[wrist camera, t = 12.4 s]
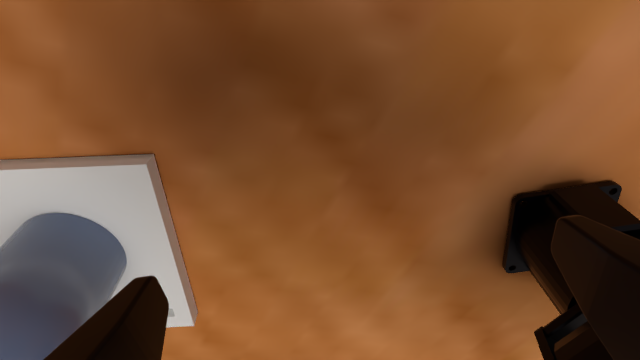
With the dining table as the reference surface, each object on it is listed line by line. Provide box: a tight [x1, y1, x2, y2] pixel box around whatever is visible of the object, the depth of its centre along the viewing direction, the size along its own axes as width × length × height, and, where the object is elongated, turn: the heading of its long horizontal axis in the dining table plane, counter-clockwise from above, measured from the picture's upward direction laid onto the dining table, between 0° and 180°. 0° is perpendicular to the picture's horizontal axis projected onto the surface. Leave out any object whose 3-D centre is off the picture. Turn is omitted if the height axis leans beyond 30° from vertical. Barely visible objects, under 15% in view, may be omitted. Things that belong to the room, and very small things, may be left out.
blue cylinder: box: [0, 213, 127, 360], centre depth 18 cm, size 6×6×13 cm
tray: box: [0, 154, 198, 327], centre depth 24 cm, size 13×13×1 cm
